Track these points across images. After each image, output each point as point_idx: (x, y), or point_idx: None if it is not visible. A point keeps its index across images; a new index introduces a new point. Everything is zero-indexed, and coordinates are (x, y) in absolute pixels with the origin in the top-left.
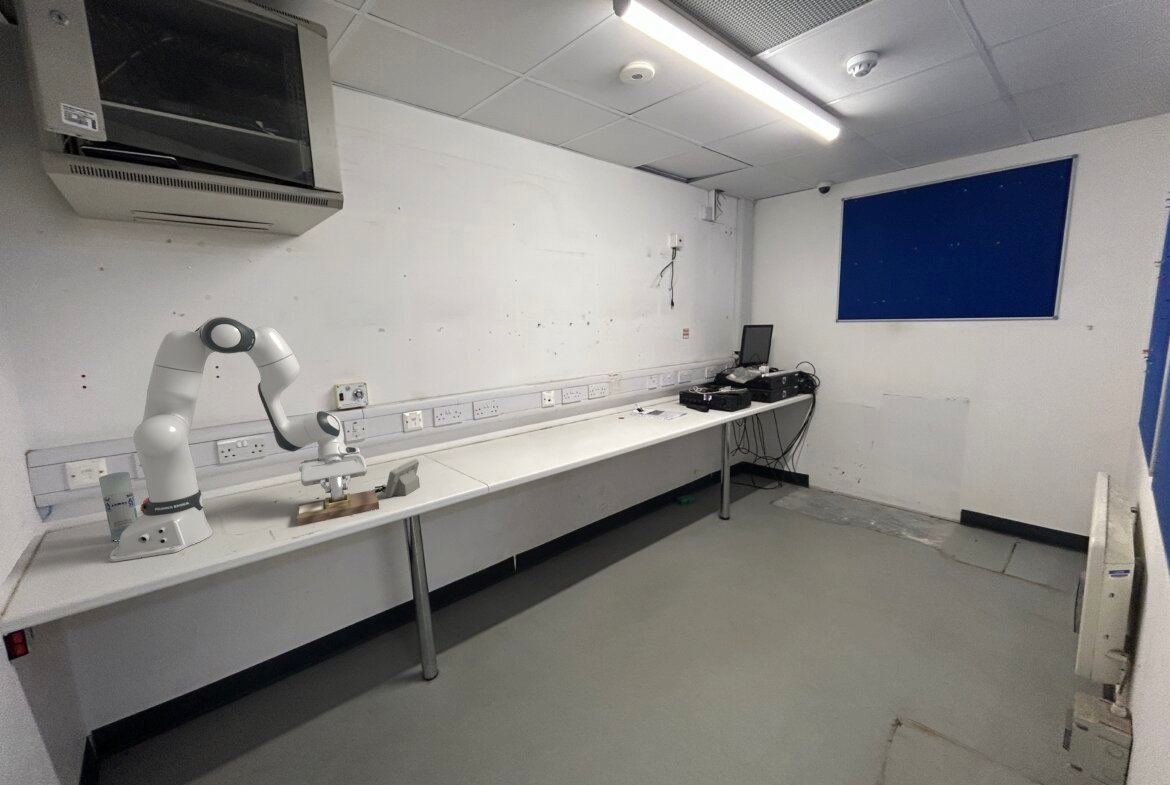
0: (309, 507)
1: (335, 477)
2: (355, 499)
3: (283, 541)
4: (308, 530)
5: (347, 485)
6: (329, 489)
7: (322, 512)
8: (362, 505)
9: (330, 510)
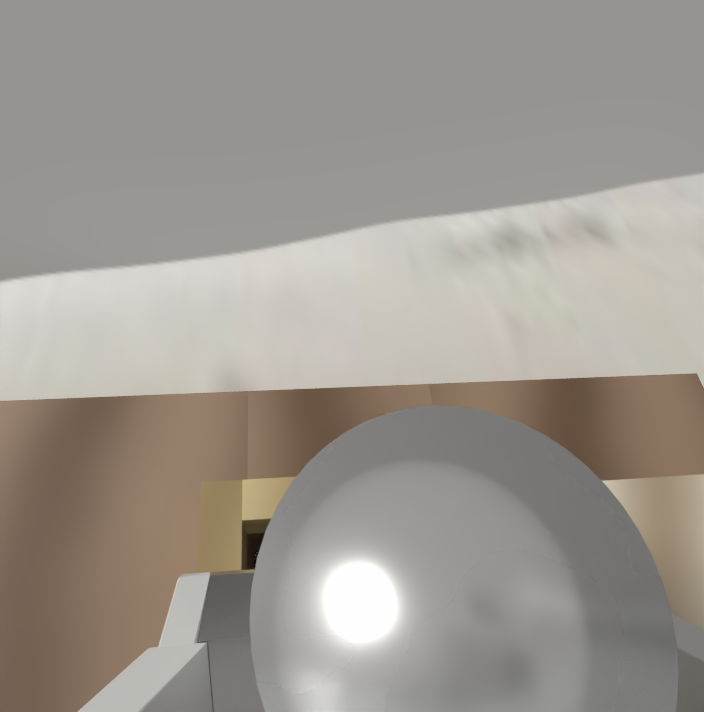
0: (696, 621)
1: (443, 499)
2: None
3: (642, 212)
4: (539, 289)
5: (178, 594)
6: None
7: (497, 407)
8: (104, 399)
9: None
